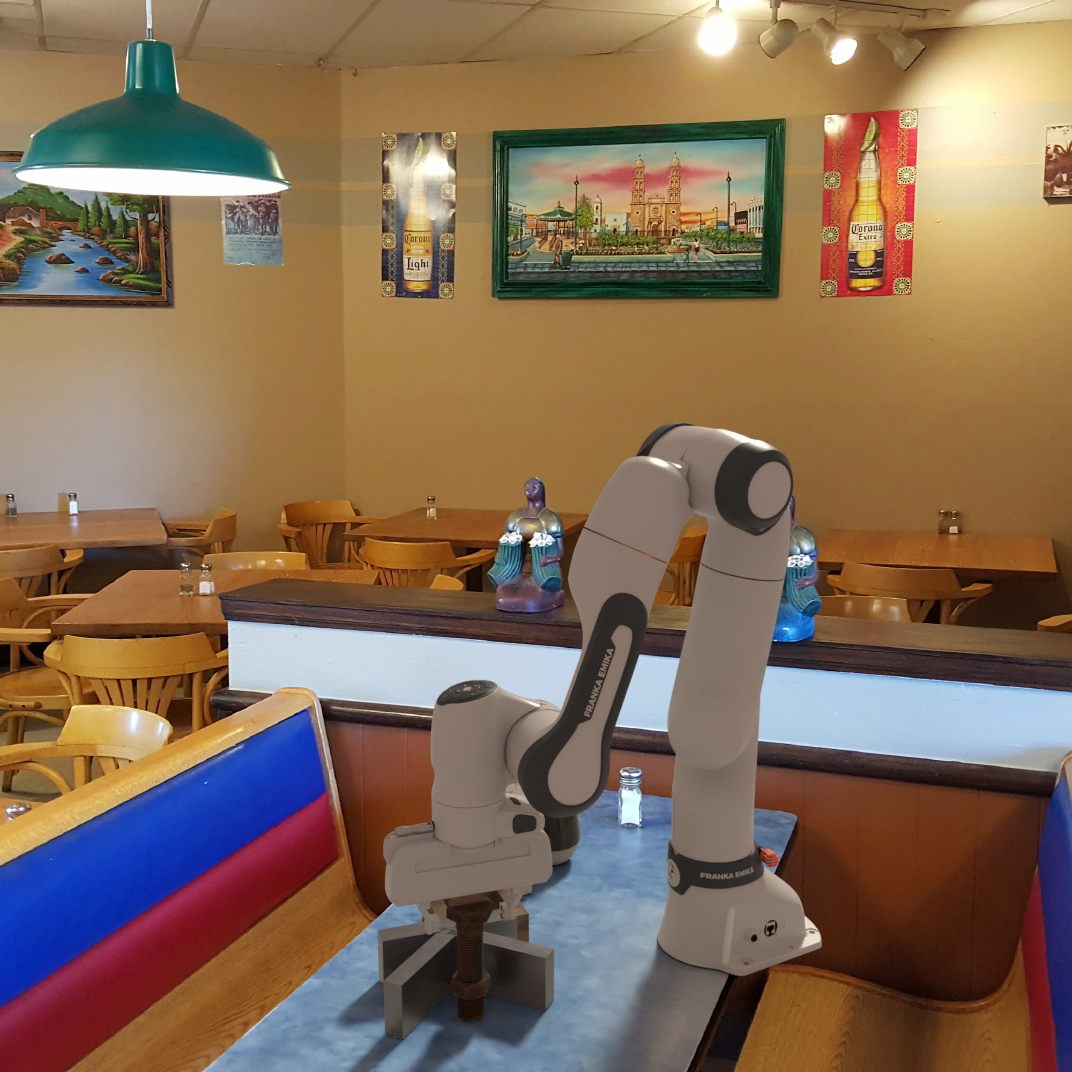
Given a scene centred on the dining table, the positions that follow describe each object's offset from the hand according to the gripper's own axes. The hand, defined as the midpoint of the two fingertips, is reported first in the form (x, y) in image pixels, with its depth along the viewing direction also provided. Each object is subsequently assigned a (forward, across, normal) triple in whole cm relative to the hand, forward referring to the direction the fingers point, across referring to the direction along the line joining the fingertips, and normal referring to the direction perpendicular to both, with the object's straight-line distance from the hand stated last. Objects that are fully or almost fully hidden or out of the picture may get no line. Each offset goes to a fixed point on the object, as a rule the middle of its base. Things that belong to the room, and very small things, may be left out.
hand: (470, 925), depth 137 cm
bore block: (+12, +6, +19) cm, 23 cm away
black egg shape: (+12, +24, +38) cm, 47 cm away
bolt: (+12, 0, 0) cm, 12 cm away
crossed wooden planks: (+12, 0, +5) cm, 13 cm away
